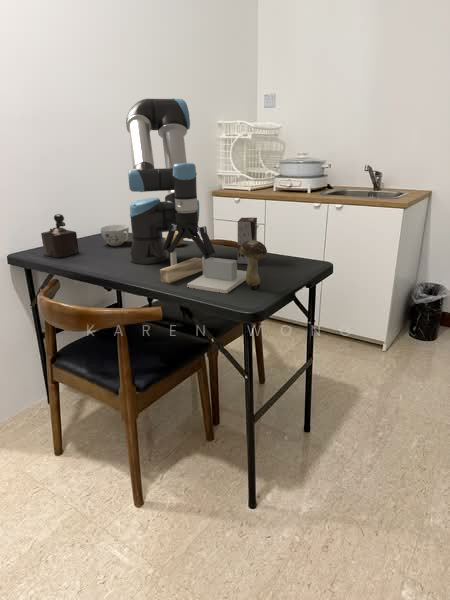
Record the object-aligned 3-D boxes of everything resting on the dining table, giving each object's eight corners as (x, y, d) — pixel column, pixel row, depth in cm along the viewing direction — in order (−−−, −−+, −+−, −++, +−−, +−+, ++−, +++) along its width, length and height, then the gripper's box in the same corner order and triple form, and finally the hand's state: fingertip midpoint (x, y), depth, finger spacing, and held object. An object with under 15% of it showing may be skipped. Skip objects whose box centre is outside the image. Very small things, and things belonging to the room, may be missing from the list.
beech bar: (161, 282, 140) (160, 269, 138) (195, 269, 153) (195, 257, 152) (168, 284, 138) (167, 271, 137) (203, 270, 152) (202, 258, 150)
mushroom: (243, 282, 138) (243, 237, 132) (269, 284, 135) (270, 238, 130) (236, 292, 129) (235, 244, 124) (263, 294, 127) (264, 246, 121)
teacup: (96, 245, 190) (94, 227, 187) (118, 240, 199) (116, 223, 196) (117, 249, 181) (115, 231, 179) (139, 244, 191) (137, 226, 188)
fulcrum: (187, 287, 134) (186, 265, 131) (216, 270, 151) (216, 251, 148) (226, 293, 128) (225, 271, 125) (252, 275, 145) (252, 255, 142)
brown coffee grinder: (42, 255, 175) (34, 212, 169) (65, 249, 184) (59, 208, 177) (63, 260, 167) (56, 215, 160) (87, 254, 175) (81, 211, 168)
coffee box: (254, 264, 157) (254, 221, 151) (237, 263, 158) (236, 221, 152) (257, 258, 165) (257, 217, 159) (241, 257, 166) (241, 216, 161)
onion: (171, 243, 192) (170, 227, 189) (186, 244, 189) (186, 228, 187) (162, 247, 185) (161, 231, 182) (179, 248, 182) (178, 232, 180)
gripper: (150, 210, 144) (155, 270, 151) (213, 215, 133) (214, 278, 141) (163, 207, 150) (167, 265, 158) (223, 211, 139) (225, 272, 147)
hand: (189, 271), depth 149 cm, fingers open, 12 cm apart
